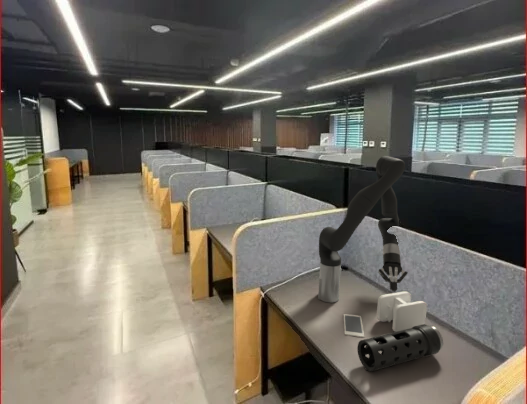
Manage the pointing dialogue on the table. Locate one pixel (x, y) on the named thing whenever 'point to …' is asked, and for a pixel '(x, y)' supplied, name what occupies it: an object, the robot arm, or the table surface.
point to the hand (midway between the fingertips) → (393, 291)
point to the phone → (353, 325)
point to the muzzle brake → (399, 347)
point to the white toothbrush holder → (401, 310)
